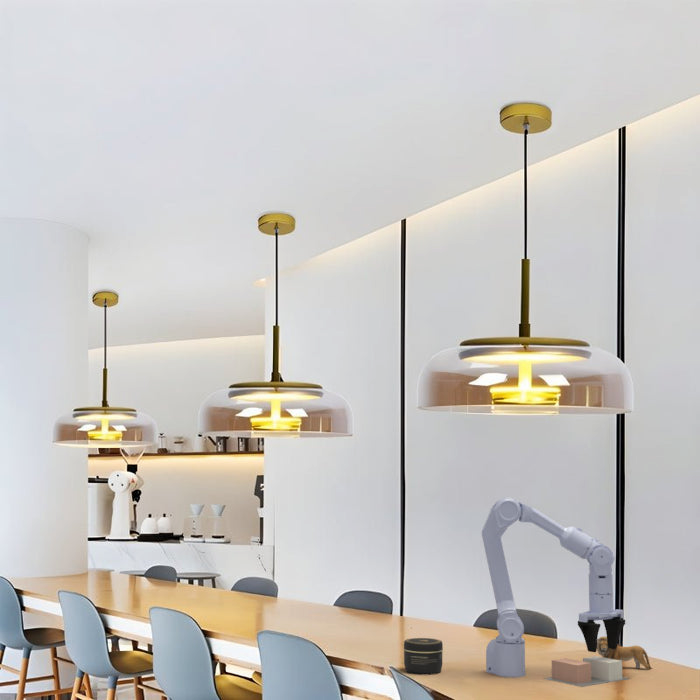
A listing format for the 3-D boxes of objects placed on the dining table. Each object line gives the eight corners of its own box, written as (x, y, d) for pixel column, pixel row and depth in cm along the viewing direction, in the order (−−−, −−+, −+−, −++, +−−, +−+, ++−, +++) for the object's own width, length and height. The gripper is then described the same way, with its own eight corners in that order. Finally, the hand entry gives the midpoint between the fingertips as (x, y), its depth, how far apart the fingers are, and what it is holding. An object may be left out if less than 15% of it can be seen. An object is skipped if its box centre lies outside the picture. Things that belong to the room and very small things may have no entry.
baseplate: (543, 682, 241) (543, 678, 241) (592, 674, 252) (592, 670, 252) (581, 691, 232) (581, 686, 232) (631, 682, 242) (631, 678, 242)
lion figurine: (600, 674, 253) (599, 637, 254) (594, 670, 258) (593, 634, 259) (657, 674, 253) (656, 638, 255) (650, 670, 259) (649, 634, 260)
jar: (408, 666, 260) (408, 636, 261) (446, 669, 257) (446, 638, 258) (399, 673, 250) (399, 642, 251) (439, 676, 248) (438, 644, 249)
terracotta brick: (551, 678, 242) (551, 660, 242) (565, 675, 245) (565, 658, 245) (577, 683, 235) (577, 665, 236) (591, 681, 238) (591, 663, 239)
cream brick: (583, 675, 245) (582, 657, 246) (596, 673, 248) (596, 656, 249) (609, 680, 239) (608, 662, 239) (622, 678, 242) (622, 660, 242)
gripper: (594, 596, 239) (595, 655, 237) (632, 593, 247) (634, 649, 245) (571, 594, 244) (572, 651, 243) (610, 590, 253) (611, 645, 251)
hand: (602, 650), depth 244 cm, fingers open, 7 cm apart
